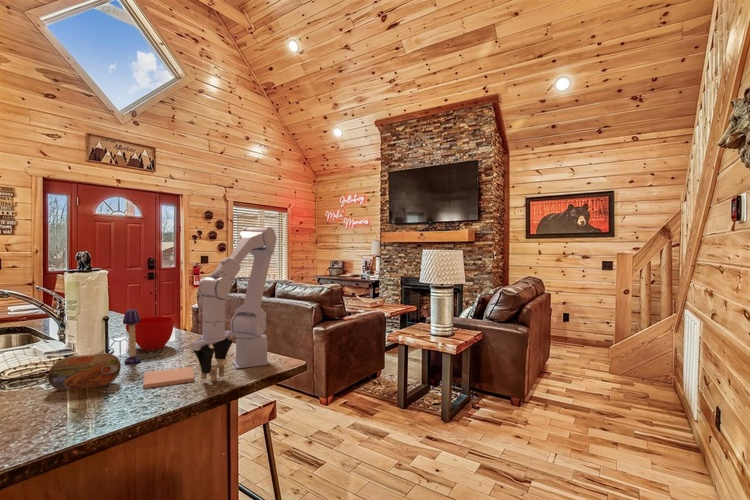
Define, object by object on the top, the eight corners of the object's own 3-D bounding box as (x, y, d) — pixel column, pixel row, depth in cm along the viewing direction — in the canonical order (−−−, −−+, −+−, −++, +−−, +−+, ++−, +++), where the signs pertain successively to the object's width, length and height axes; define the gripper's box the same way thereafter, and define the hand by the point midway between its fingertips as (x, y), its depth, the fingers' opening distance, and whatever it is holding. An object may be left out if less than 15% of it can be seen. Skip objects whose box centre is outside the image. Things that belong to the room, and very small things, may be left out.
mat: (191, 370, 113) (191, 366, 113) (194, 381, 104) (194, 377, 104) (144, 376, 107) (144, 372, 107) (143, 388, 98) (143, 384, 98)
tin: (47, 393, 94) (47, 359, 93) (51, 388, 96) (51, 356, 96) (119, 384, 101) (120, 353, 100) (121, 380, 103) (121, 350, 103)
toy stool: (211, 373, 108) (211, 357, 107) (226, 375, 106) (226, 359, 106) (198, 379, 103) (199, 363, 103) (214, 381, 101) (214, 365, 101)
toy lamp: (131, 365, 115) (132, 311, 115) (118, 364, 116) (119, 310, 115) (143, 361, 120) (144, 308, 119) (131, 359, 120) (132, 308, 120)
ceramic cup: (140, 341, 142) (140, 315, 142) (181, 344, 140) (181, 317, 139) (111, 351, 129) (111, 322, 129) (156, 354, 127) (156, 324, 127)
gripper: (218, 314, 112) (218, 359, 113) (182, 324, 98) (181, 376, 98) (239, 316, 110) (238, 362, 111) (204, 327, 96) (204, 379, 97)
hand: (213, 369), depth 104 cm, fingers closed on toy stool, 5 cm apart
